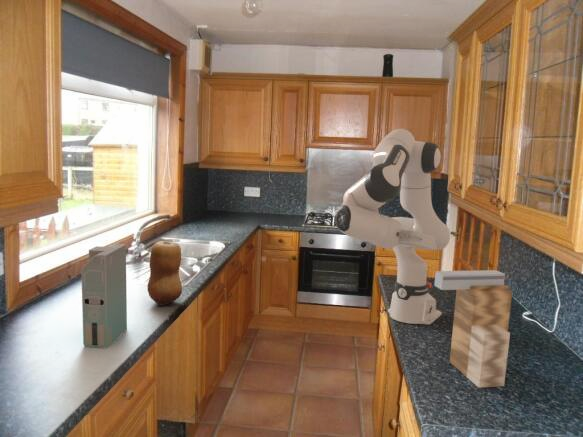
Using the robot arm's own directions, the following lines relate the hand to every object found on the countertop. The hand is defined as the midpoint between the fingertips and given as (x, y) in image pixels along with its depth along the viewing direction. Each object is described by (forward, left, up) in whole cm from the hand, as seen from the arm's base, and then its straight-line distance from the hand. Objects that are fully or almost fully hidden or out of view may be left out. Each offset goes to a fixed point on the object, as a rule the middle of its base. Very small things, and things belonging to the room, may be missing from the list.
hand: (423, 245), depth 151 cm
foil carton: (-9, +11, -12) cm, 18 cm away
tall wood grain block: (-12, +16, -38) cm, 43 cm away
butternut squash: (+29, -96, -38) cm, 108 cm away
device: (+61, -79, -38) cm, 107 cm away
